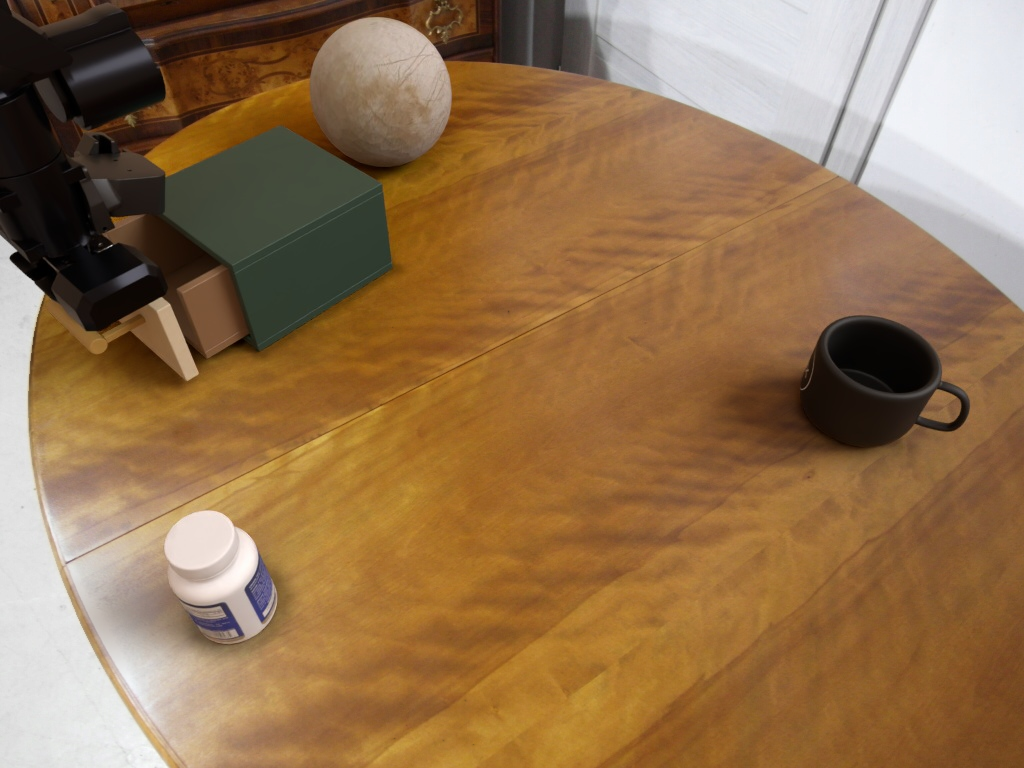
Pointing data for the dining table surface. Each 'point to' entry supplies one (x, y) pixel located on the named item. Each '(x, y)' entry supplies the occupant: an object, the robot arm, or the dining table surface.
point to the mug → (873, 382)
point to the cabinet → (283, 227)
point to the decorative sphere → (380, 92)
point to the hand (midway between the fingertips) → (103, 326)
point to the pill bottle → (219, 577)
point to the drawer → (172, 299)
